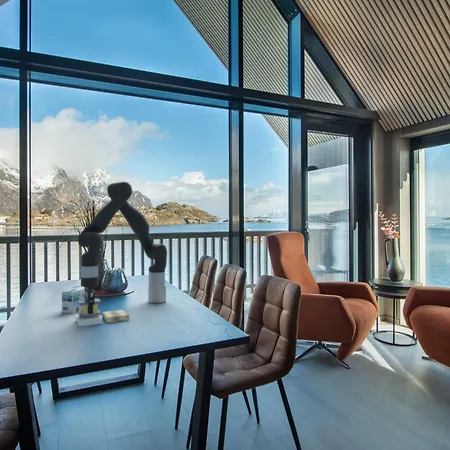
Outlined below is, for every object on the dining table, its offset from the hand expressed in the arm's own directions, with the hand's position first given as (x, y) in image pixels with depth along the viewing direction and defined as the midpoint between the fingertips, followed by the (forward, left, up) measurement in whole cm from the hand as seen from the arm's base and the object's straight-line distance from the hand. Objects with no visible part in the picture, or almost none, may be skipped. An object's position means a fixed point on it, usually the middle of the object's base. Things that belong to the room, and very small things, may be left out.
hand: (89, 311), depth 163 cm
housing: (0, 0, -1) cm, 1 cm away
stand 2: (-12, 0, -5) cm, 13 cm away
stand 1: (0, 0, -5) cm, 5 cm away
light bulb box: (+4, -24, -5) cm, 25 cm away
